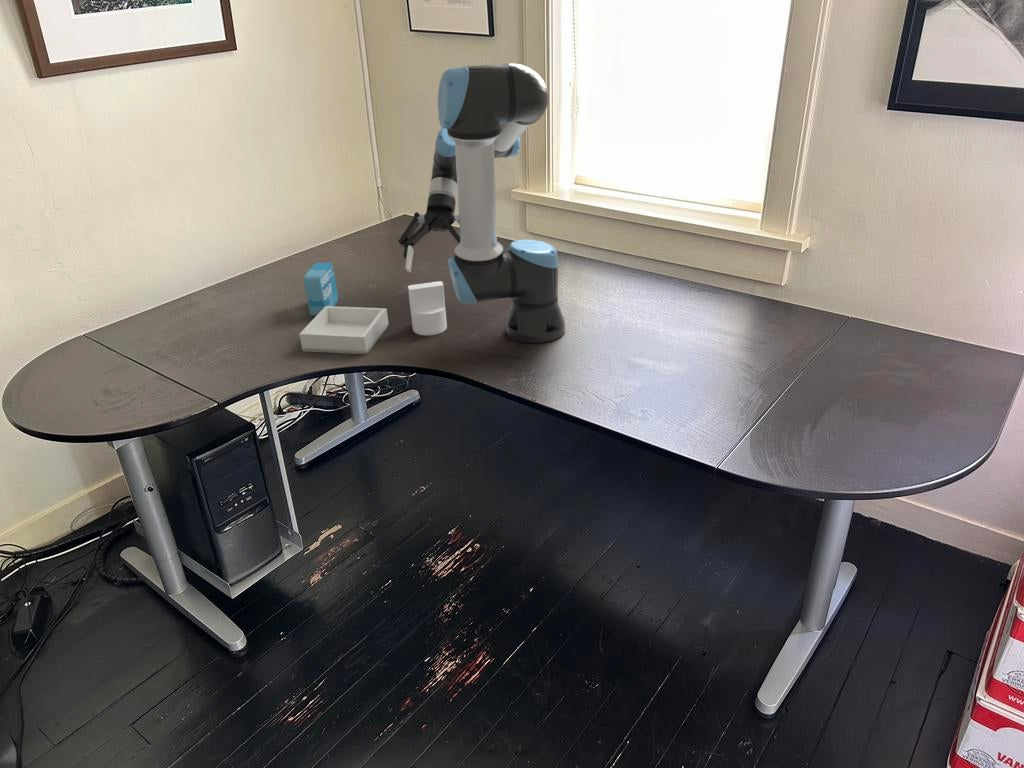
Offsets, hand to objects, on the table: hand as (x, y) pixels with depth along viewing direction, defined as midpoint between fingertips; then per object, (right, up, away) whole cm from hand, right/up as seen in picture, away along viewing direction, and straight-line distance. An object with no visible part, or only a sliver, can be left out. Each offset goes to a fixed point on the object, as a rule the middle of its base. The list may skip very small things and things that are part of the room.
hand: (432, 271), depth 197 cm
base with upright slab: (-1, -15, -1) cm, 15 cm away
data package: (-31, -9, +12) cm, 35 cm away
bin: (-22, -18, -4) cm, 28 cm away
